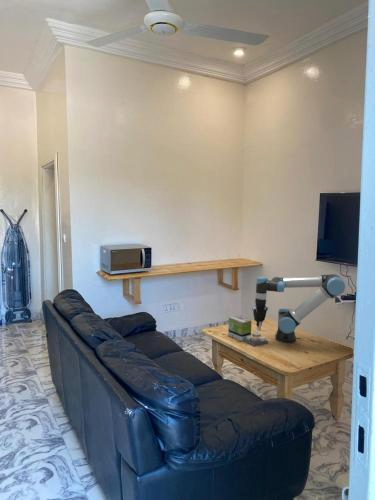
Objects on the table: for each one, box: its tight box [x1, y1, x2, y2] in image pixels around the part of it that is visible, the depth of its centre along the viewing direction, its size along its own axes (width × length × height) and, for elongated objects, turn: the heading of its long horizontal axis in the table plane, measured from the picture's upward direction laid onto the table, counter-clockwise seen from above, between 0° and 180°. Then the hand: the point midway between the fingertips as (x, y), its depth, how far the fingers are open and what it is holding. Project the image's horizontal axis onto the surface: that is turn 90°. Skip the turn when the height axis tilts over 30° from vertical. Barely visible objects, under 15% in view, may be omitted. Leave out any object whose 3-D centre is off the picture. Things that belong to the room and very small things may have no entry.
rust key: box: [251, 336, 260, 343], centre depth 277 cm, size 4×4×4 cm
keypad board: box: [242, 338, 269, 347], centre depth 281 cm, size 13×12×2 cm
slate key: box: [251, 332, 262, 337], centre depth 284 cm, size 4×4×4 cm
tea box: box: [227, 315, 252, 342], centre depth 290 cm, size 15×10×15 cm, turn 37°
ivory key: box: [258, 336, 267, 342], centre depth 280 cm, size 4×4×4 cm
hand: (258, 330), depth 278 cm, fingers closed
